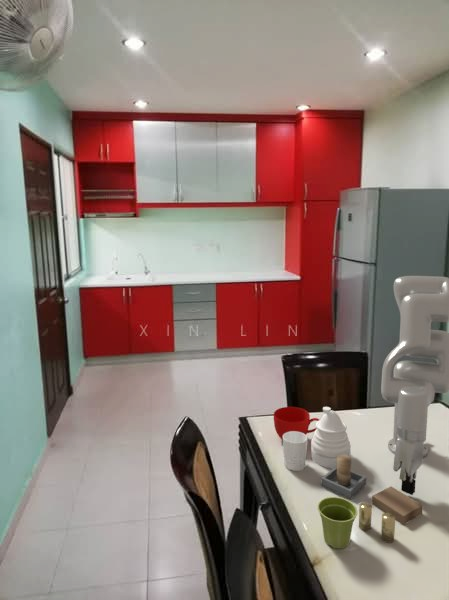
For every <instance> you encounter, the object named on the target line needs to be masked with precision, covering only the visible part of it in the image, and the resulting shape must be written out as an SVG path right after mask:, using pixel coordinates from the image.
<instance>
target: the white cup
mask: <svg viewBox="0 0 449 600" xmlns="http://www.w3.org/2000/svg"><path fill="white" fill-rule="evenodd" d="M282 447H283V448H282V451H283V459H284V466H285V468H286V469H287V470H290V471H293V472H295V471H296V472H300V471H302V470H304V469H305V468H306V462H307V460H306V459H307V451H308V436H307V434H306V435H305V434H304V433H301V432H297V431H290V432H286V433H285V434H284V435H283V440H282Z"/></svg>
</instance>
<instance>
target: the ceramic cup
mask: <svg viewBox="0 0 449 600" xmlns="http://www.w3.org/2000/svg"><path fill="white" fill-rule="evenodd" d="M319 420H320V419H319V418H317V417H313V418H311V416H310V413H309V412H308V411H307V410H306V409H304V408H300V407H296V406H285V407H280V408H277V409H276V410H275V411H274V412H273V424H274V429H275V432H276V435H277V437H279V438H280V440H282V441H283V435H284V434H285V433H286V432H290V431H297V432H301V433H304V434H305V435H306V436H307V434H311V433H314V432H315V430H316V429H317V428H316V427H315V428H312V429H309V427H310V425H311V423H312V422H315V421H316V422H317V421H319Z"/></svg>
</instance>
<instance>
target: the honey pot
mask: <svg viewBox="0 0 449 600" xmlns="http://www.w3.org/2000/svg"><path fill="white" fill-rule="evenodd" d="M331 409H332V408H331V407H329V406H323V407H322V412H323V413H324V414H323V415H322V416H321V419H319V421H316V423H315V428H317V429H316V430H315V431H314V432H313V433H314V434H313V435H312V436H313V437H312V439H311V442H310V443H311V444H310V445H311V446H310V458H311V460H312V461H313V462H314V463H315V464H317V465H319V466H322V467H324V468H328V467H329V468H328V469H330V468H331V469H333V468H334V467H336V466H337V456H339V455H347V456H349V457H350V458H351V454H352V453H351V441H350V440H349V437H348V433H347V431H346V430H347V425H346V423H345V422H343V421H342V420H341V417H340V416H339V414H338V413H337V412H336V411H334V410H333V409H332V410H331Z"/></svg>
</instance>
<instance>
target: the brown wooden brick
mask: <svg viewBox="0 0 449 600" xmlns="http://www.w3.org/2000/svg"><path fill="white" fill-rule="evenodd" d="M371 506H374V507H375V508H376V509H378V510H380V511H381V512H383V514H384V513H390V514H392V515H394V516H395V522H396V521H397V522H398V524H401V525H402V526H404V525H405V524H408V523H410V522H411V521H413V520H414V519H416V518H417V517H419V516H422V515H423V504H421V503H420V502H418V501H416V500H415V499H413V498H412V497H410V496H408V495H406V494H405V493H403V492H402V491H400V490H398V489H396V488H395V487H393V486H389V487H386V488H385V489H383V490H381V491H379V492H377V493H375V494H373V495H371Z"/></svg>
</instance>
